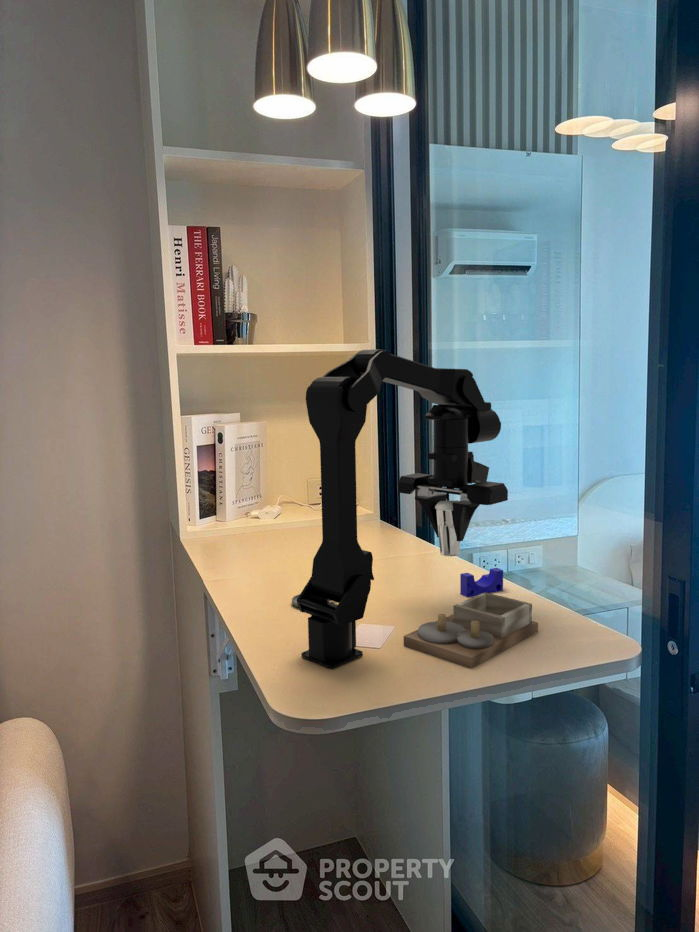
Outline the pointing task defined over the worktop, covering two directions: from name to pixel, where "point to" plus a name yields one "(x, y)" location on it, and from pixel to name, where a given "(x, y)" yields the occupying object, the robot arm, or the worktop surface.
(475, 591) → the cable holder
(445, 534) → the milkshake
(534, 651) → the worktop surface
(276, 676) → the worktop surface
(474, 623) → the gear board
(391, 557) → the worktop surface
